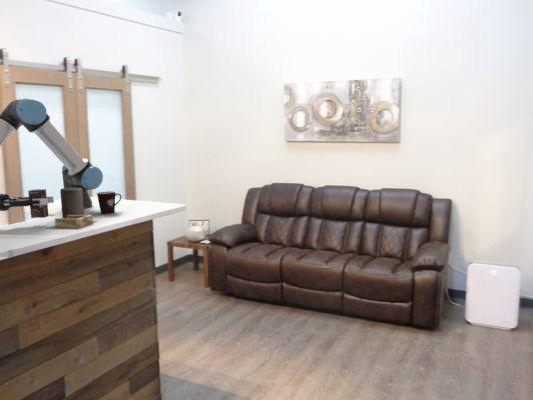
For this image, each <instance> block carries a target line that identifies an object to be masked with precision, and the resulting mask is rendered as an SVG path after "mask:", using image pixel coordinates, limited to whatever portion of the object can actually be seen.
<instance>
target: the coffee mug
mask: <svg viewBox="0 0 533 400" xmlns="http://www.w3.org/2000/svg"><path fill="white" fill-rule="evenodd" d="M96 195H97V201H98V205H99V210H100V214H101V215H110V214H111V215H112V214H115V212H116V211H115V210H116V209H115V208H116V205H117V204H119V203H120V202H121V200H122V195H121V193H116V191H111V190H110V191H109V190H108V191H101V192H100V191H99V192H97V193H96ZM117 195H119V199H118V201H116V196H117Z"/></svg>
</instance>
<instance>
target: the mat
mask: <svg viewBox="0 0 533 400" xmlns="http://www.w3.org/2000/svg"><path fill="white" fill-rule="evenodd" d="M95 223H98V221H95V220H93V223H91V224H89V225H93V224H95ZM89 225H86V226H89ZM86 226H83V227H80V228H78V227H56V226H55V225H51V226H49V227H45V228H44V229H45V230H79V229H81V228H84V227H86Z"/></svg>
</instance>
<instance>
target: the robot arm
mask: <svg viewBox="0 0 533 400" xmlns="http://www.w3.org/2000/svg"><path fill="white" fill-rule="evenodd" d="M22 126H23V127H24V128H25V129H26V130H27V131H28V132H29V133H32V134H35V135H36V136H37V138H39V139H40V140H41V142H42V143H44V144H45V146H46V147H47V148H48V150H50V151H51V152H52V153H53V154H54V156H55V157H56V158H57V159H58V160H59V161H60V162H61V164H63V165H62V167H61V174H62V182H63V183H62V184H63V188H82V195H83V207H84V209H86V208H87V209H88V208H91V207H93V201H92V199H91V196H90V194H89V190H96V189H98V188H99V187H100V186H101V185H102V183H103V180H104V175H103V172H102V170H101V169H100V168H99V167H97V166H94V165H92V163H91V162H90V161H89V160H88V159H87V158H83V157H82V156H81V155H80V154H79V153H78V152H77V151H76V150H75V149H74V148H73V146H72V145H71V144H70V143H69V142H68V141H67V140H66V138H64V136H63V135H62V134H61V133H60V132H59V130H58V129H57V128H56V127H55V125H53V123H52V122H51V116H50V115H49V114H48V112H47V108H46V106H45V105H44V103H43V102H42V101H40V100H39V99H36V98H32V97H26V98H25V97H24V98H22V99H15V100H12V101H11V102H10V103H8V105H6V106H5V107H4V109H3V111H2V112H1V113H0V148H1V147H2V146H3V144H4V143H5V142H6V141H7V139H8V138H9V137H10V136H11V135H12V134H13V133H15V132H17V131H18V129H19V128H20V127H22ZM70 186H71V187H70ZM54 201H55V200H54V196H53V195H52V196H47V198H40V199H29V196H12V197H10V195H9V194H7V193H0V212H7V211H9V210H10V208H15V207H18V208H19V207H29V208H30V207H32V204H33V205H49V204H51V203H52V204H54V203H55V202H54Z"/></svg>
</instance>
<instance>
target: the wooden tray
mask: <svg viewBox="0 0 533 400" xmlns="http://www.w3.org/2000/svg"><path fill="white" fill-rule="evenodd" d="M66 216H67V218H63V217H62V218H61V217H60V218H57V217H56V218H54V224H55V226H56V227H78V228H79V229H81V228H80V227H82V228H84V227H86V225H87V226H89V224H90V225H92V224H94V223H93V221H94V219H93V214H84V215H66ZM91 223H92V224H91ZM83 226H84V227H83Z"/></svg>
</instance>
